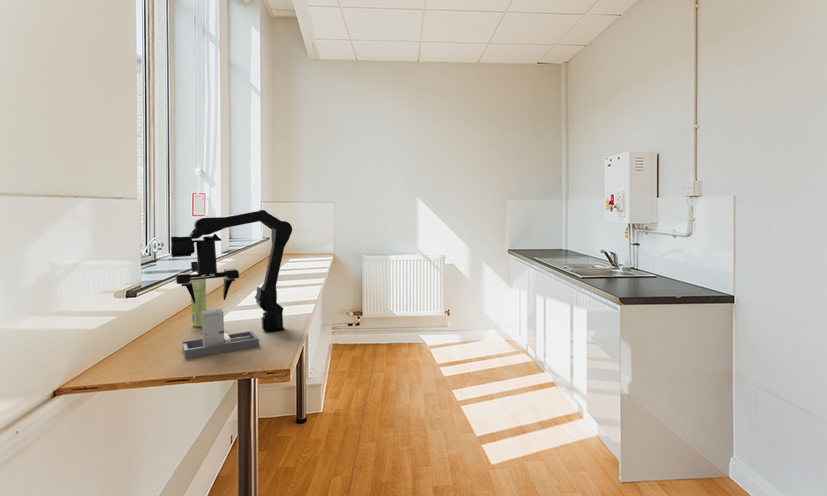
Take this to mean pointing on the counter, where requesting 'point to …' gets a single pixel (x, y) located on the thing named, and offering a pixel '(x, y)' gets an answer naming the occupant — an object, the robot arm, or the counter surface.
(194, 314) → the tube
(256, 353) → the counter surface
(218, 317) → the skincare box
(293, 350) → the counter surface
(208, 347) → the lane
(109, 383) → the counter surface
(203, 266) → the robot arm
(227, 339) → the pusher
